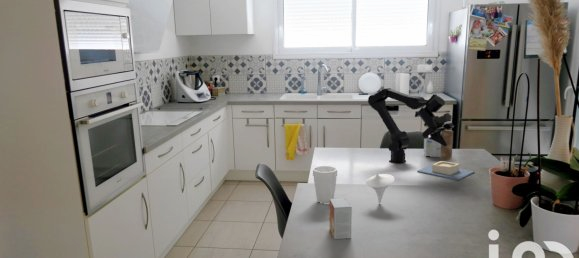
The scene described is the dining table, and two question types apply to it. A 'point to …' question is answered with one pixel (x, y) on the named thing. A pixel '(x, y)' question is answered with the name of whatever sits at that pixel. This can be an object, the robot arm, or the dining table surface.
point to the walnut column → (447, 150)
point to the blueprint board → (454, 176)
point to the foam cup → (325, 182)
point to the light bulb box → (431, 148)
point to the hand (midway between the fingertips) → (449, 144)
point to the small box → (340, 218)
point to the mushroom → (380, 183)
